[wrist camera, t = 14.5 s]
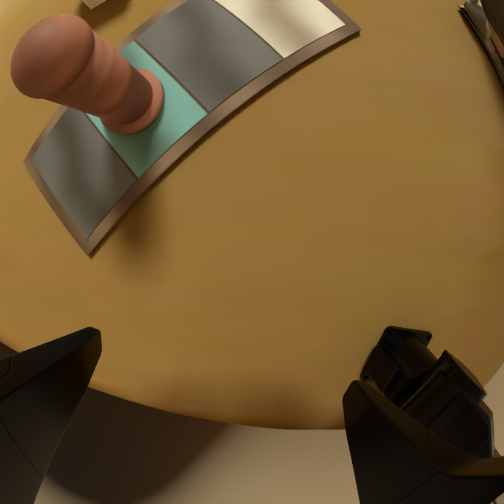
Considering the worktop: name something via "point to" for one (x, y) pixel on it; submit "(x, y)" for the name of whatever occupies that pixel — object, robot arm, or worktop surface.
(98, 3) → the die
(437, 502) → the robot arm
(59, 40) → the pawn
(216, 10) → the game board
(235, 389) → the worktop surface
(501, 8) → the radio
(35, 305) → the worktop surface
